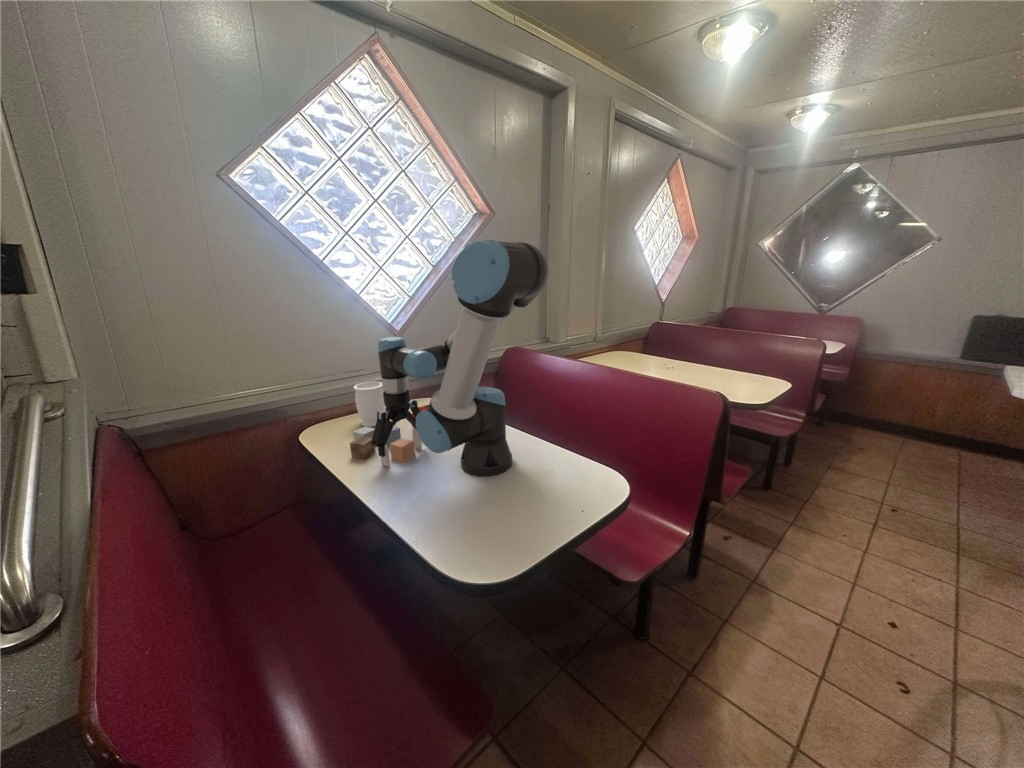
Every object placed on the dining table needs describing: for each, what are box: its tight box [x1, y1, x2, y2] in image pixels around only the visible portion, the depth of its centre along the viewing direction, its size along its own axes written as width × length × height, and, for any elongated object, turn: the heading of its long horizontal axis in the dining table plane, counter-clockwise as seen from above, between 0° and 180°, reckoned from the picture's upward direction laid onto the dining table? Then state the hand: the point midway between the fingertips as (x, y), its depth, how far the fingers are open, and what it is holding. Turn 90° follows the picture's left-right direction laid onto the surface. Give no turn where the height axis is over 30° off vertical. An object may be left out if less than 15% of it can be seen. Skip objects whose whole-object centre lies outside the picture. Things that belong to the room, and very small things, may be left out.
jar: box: [353, 381, 386, 428], centre depth 148 cm, size 11×10×15 cm
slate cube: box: [386, 425, 402, 447], centre depth 132 cm, size 5×5×5 cm
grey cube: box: [352, 426, 375, 441], centre depth 131 cm, size 5×5×5 cm
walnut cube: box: [349, 437, 376, 461], centre depth 123 cm, size 5×5×5 cm
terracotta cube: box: [389, 437, 416, 463], centre depth 121 cm, size 5×5×5 cm
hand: (402, 456), depth 122 cm, fingers open, 13 cm apart
